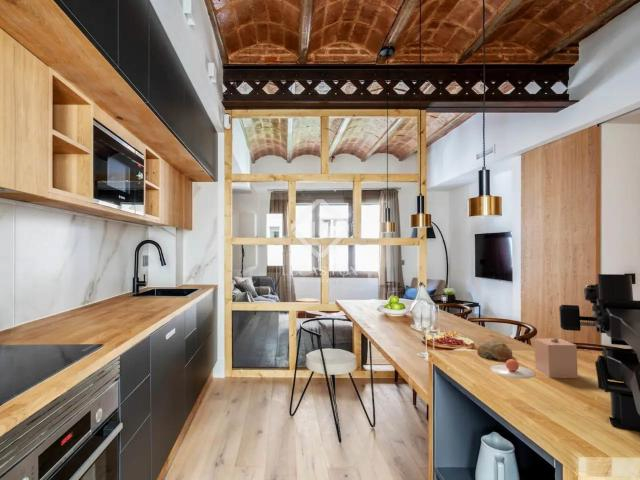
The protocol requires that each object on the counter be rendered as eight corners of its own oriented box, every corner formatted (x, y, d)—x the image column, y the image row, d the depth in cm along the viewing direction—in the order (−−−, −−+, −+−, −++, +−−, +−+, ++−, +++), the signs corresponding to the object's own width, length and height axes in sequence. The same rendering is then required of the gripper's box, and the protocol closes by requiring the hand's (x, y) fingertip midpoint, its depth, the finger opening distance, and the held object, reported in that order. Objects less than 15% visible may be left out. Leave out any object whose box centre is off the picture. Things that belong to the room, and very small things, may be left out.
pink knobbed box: (577, 380, 91) (576, 342, 92) (549, 379, 92) (548, 341, 92) (561, 370, 98) (560, 335, 99) (535, 370, 99) (534, 335, 99)
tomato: (518, 373, 95) (518, 361, 95) (505, 371, 97) (504, 359, 97) (519, 370, 98) (519, 358, 98) (506, 368, 100) (506, 356, 100)
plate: (535, 384, 90) (534, 381, 90) (487, 377, 96) (487, 373, 96) (536, 372, 99) (536, 368, 99) (493, 365, 105) (493, 362, 105)
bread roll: (477, 371, 111) (475, 351, 108) (478, 349, 119) (477, 330, 116) (513, 376, 106) (512, 355, 103) (512, 353, 114) (511, 333, 112)
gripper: (667, 285, 75) (643, 288, 88) (561, 283, 84) (554, 286, 97) (672, 339, 73) (648, 333, 87) (564, 331, 82) (557, 327, 96)
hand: (599, 318), depth 92 cm, fingers open, 9 cm apart
